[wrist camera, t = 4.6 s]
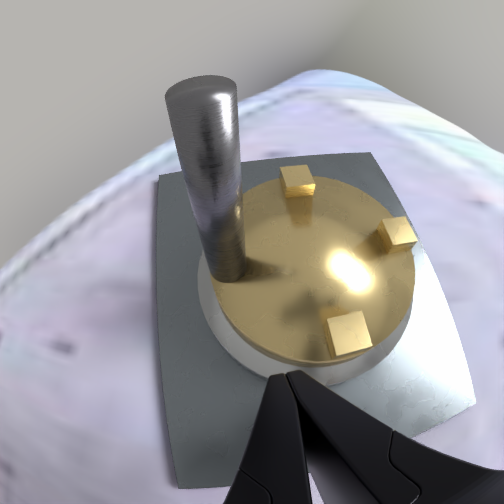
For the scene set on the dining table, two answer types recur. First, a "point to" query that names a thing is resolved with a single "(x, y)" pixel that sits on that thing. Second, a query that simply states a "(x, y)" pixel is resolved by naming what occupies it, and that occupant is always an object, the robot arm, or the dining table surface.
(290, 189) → the brass chuck with rod
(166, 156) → the dining table surface
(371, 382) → the gray metal base plate
